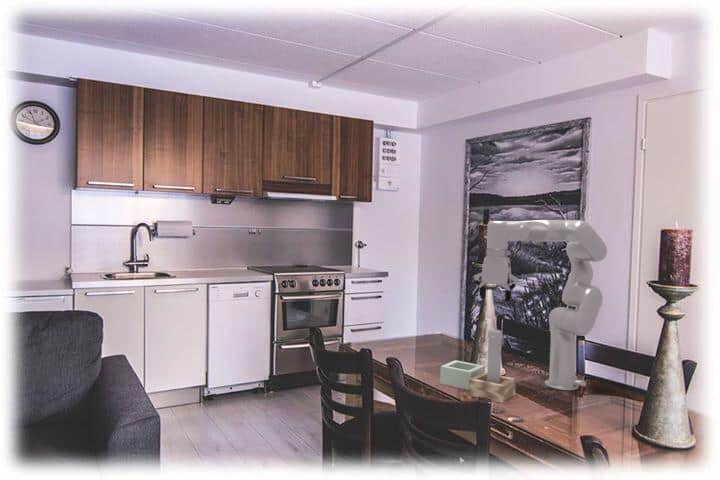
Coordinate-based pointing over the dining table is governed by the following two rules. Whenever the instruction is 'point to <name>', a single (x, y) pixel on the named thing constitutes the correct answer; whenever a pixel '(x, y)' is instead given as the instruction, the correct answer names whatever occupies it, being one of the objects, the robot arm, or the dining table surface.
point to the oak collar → (492, 388)
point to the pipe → (494, 355)
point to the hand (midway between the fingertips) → (494, 299)
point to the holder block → (459, 373)
